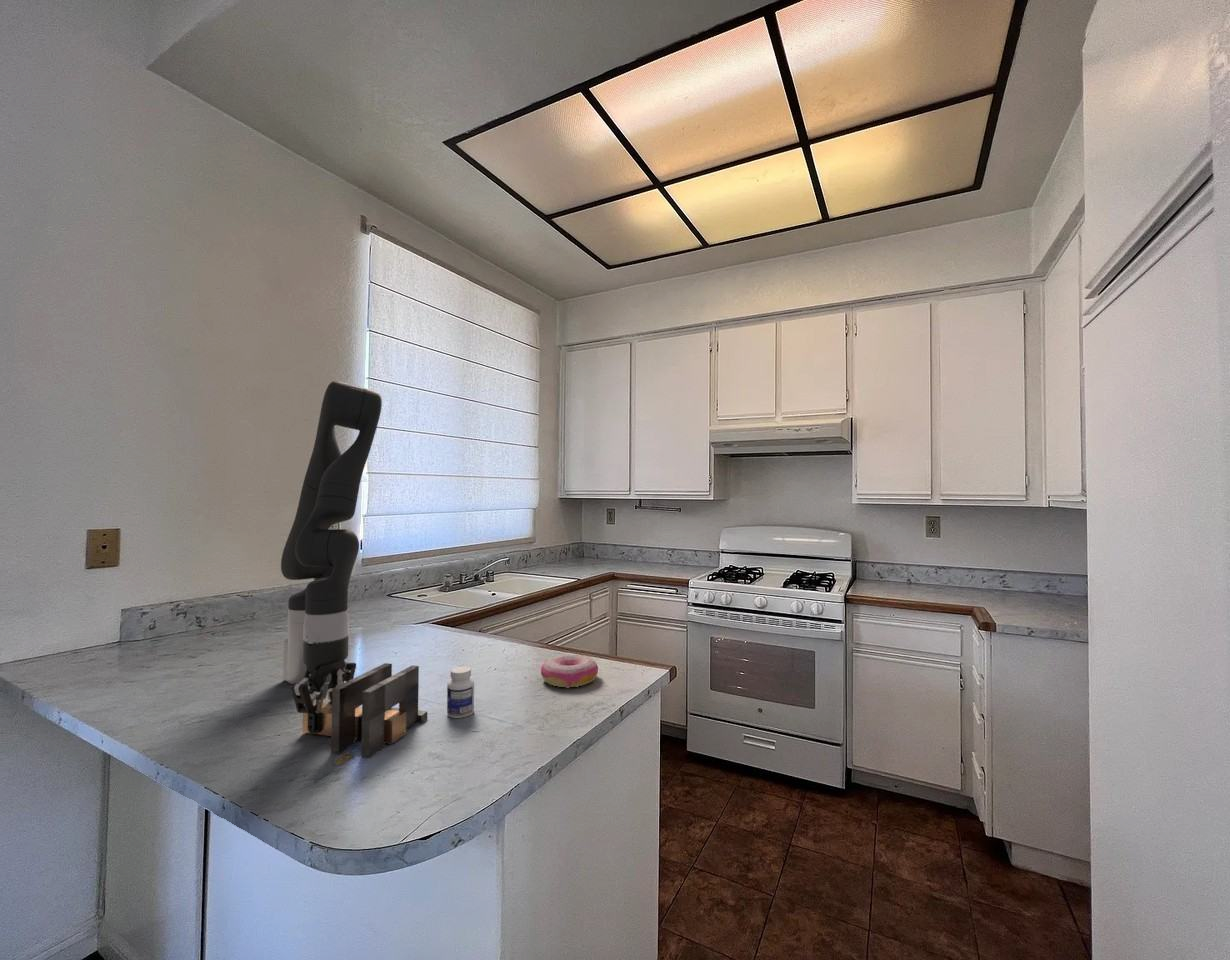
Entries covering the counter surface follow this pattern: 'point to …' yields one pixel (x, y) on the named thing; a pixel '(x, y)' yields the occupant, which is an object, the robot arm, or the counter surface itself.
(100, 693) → the counter surface
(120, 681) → the counter surface
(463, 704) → the pill bottle
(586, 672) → the donut
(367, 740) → the dark two-tier wooden rack
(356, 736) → the tall wooden block
